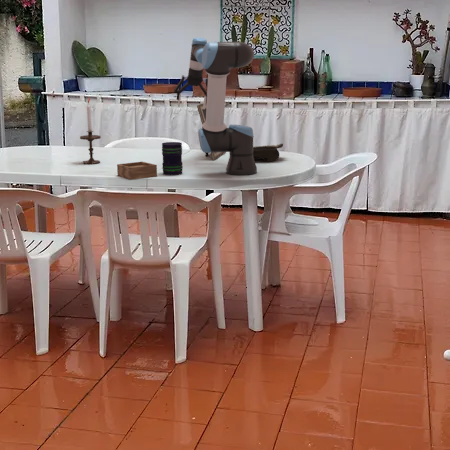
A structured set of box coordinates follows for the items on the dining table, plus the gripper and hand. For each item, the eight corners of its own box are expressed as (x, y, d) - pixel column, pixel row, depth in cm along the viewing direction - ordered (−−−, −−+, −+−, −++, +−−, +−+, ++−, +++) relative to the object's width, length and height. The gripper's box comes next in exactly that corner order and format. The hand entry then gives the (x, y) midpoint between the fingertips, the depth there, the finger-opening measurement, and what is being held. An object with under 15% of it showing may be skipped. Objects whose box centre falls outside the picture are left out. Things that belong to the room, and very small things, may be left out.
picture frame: (214, 160, 406) (214, 105, 399) (197, 160, 408) (196, 104, 400) (226, 152, 437) (226, 100, 430) (210, 151, 439) (209, 100, 432)
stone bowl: (286, 162, 395) (285, 145, 393) (239, 166, 396) (238, 149, 393) (282, 155, 419) (281, 138, 417) (238, 159, 419) (237, 142, 417)
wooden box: (157, 176, 360) (156, 165, 358) (131, 179, 352) (130, 168, 351) (142, 172, 371) (142, 161, 369) (117, 175, 363) (117, 164, 362)
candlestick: (102, 161, 408) (98, 96, 400) (101, 164, 397) (98, 97, 389) (81, 161, 406) (78, 96, 398) (81, 165, 396) (77, 98, 388)
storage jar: (159, 175, 363) (158, 144, 360) (166, 171, 373) (165, 141, 369) (179, 175, 361) (178, 144, 357) (185, 172, 370) (184, 142, 367)
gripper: (219, 68, 394) (213, 107, 403) (172, 63, 389) (167, 102, 399) (220, 72, 387) (215, 111, 396) (172, 67, 383) (168, 107, 392)
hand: (191, 107), depth 397 cm, fingers open, 13 cm apart
